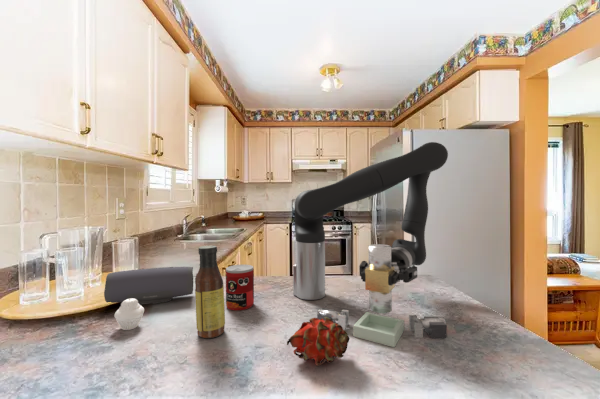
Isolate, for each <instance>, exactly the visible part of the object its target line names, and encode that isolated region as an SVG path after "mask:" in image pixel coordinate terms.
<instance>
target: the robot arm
mask: <svg viewBox="0 0 600 399" xmlns="http://www.w3.org/2000/svg"><path fill="white" fill-rule="evenodd" d="M448 156H449V151H448V150H447V148H446V146H444V145H443V144H442V143H440V142H436V141H431V142H427V143H424V144H421V146H419V147H417V148H415V149H413V150H411V151H410V152H407V153H405V154H403V155H400V156H397V157H393V158H390V159H386V160H383V161H380V162H377V163H374V164H372V165H369V166H366V167H363V168H361V169H359V170H357V171H354V172H352V173H351V174H349V175H347V176H345V177H343V179H340V180H339V181H336V182H335V183H333V184H329V185H326V186H325V185H324V186H321V187H319V188H313V189H308V190H307V189H306V190H303V191H302V192H300V193H299V194H298V195H297V196H296V197H295V200H294V232H295V233H294V234H295V264H293V266H292V270H293V271H292V272H293V273H292V276H293V277H292V278H293V279H292V283H293V285H292V286H293V290H292V291H293V292H292V294H293V296H296V297H297V298H298V299H301V300H306V301H307V300H309V301H313V300H314V301H315V300H319V299H323V298H325V296H326V232H325V230H324V229H325V228H324V223H323V222H324V218H323V217H324V216H325V215H328V214H329V213H331V212H333V211H334V210H337V209H338V208H341V207H343V206H345V205H349V204H352V203H355V202H358V201H359V202H360V201H361V200H364V199H367V198H371V197H373V196H376V195H378V194H380V193H383V192H385V191H388V190H389V189H391V188H393V187H396V186H397V185H399V184H401V183H402V182H404V181H406V180H408V183H407V184H408V187H407V196H406V202H405V207H404V212H403V217H402V222H401V230H402V231H403V232H404V233H407V234H409V235H412V236H413V237H414V238H415V241H412V240H408V239H407V240H406V239H404V238H403V239H402V238H399V239H398V238H397V239H395V240H393V242H392V244H391V267H394V269H395V270H394V272H392V273H391V274H390V275H389V276H388V285H390V286H392V285H393V284H395V285H396V284H397V283H401V281H403V283H405V284H406V283H411V282H412V281H413V280H416V279H417V278H418V267H417V266H421V265H422V264H424V263H425V261H426V260H427V259H426V258H427V248H426V241H425V234H426V232H425V231H426V226H427V220H428V214H429V202H428V194H427V187H428V181H429V179H430V178H429V177H430V175H431V173H432V172H434V171H437V170H439V169H440V168H442V167H443V166H444V165H445V164H446V163H447V160H448ZM368 267H369V262H367V261H366V260H362V261H361V262H360V264H359V266H358V268H359V277H360V280H362V282H364V283H365V269H366V268H368Z"/></svg>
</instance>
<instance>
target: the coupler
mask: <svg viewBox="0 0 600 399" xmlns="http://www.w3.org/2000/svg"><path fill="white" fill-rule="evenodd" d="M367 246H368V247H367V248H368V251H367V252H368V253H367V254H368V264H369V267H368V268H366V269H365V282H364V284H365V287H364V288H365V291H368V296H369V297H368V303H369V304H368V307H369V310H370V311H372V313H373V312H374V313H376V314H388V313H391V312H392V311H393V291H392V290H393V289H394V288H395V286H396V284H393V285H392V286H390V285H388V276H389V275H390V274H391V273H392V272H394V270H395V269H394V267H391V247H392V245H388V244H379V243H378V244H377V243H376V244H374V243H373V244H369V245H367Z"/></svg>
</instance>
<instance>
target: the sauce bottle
mask: <svg viewBox="0 0 600 399" xmlns="http://www.w3.org/2000/svg"><path fill="white" fill-rule="evenodd" d="M217 254H218V247H217V246H216V245H202V246H199V247H198V255H199V269H198V272H197V274H196V276H195V279H194V282H195V287H194V288H195V290H194V293H195V298H194V299H195V317H196V318H195V321H196V330H197V332H196V333H197V336H198V337H200V338H202V339H212V338H216V337H220V336H221V335H222V334H224V332H225V327H226V326H225V324H226V314H225V313H226V311H225V293H224V290H225V289H224V287H225V286H224V280H223V276H222V274H221V272H220V267H219V265H218V262H217V260H218V259H217V258H218V256H217Z"/></svg>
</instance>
